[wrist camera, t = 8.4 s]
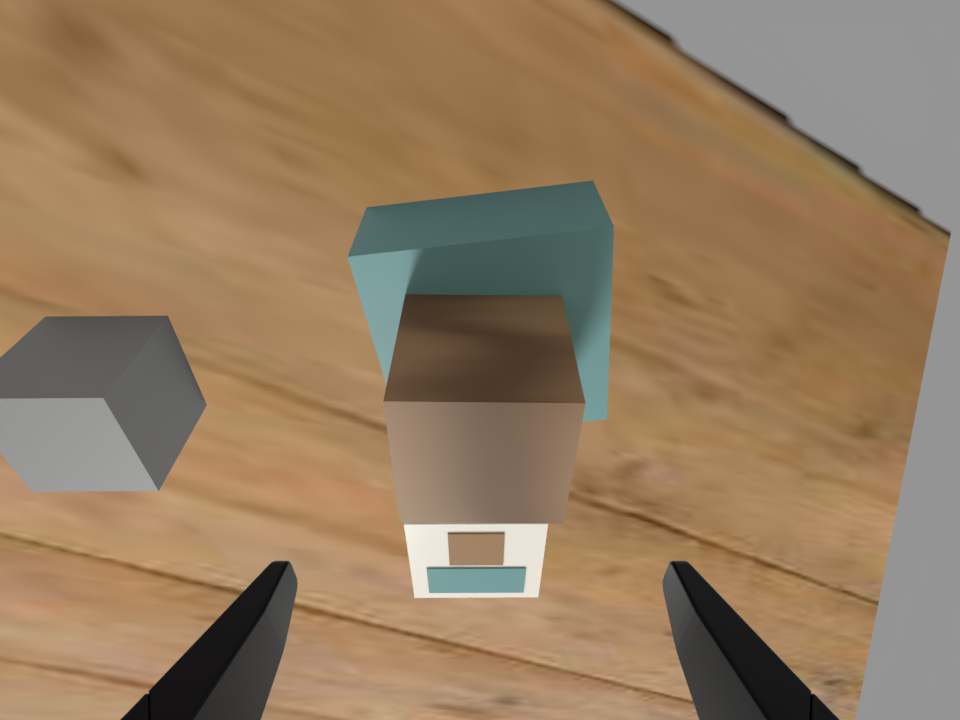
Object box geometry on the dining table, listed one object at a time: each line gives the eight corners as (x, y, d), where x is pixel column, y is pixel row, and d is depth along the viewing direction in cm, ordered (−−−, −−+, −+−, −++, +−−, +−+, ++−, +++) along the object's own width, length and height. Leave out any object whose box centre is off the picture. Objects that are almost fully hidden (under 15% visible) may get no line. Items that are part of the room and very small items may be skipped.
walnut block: (414, 408, 20) (399, 522, 17) (405, 294, 17) (383, 401, 13) (547, 409, 20) (563, 523, 17) (562, 296, 17) (585, 403, 13)
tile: (415, 589, 36) (414, 599, 35) (404, 515, 31) (403, 526, 30) (537, 588, 36) (538, 598, 35) (546, 514, 31) (548, 525, 30)
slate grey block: (100, 404, 25) (32, 491, 22) (46, 315, 22) (-46, 398, 18) (207, 403, 25) (158, 491, 22) (168, 314, 22) (103, 398, 18)
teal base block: (411, 372, 25) (402, 437, 21) (367, 203, 20) (347, 257, 16) (590, 355, 24) (607, 419, 21) (591, 176, 19) (613, 226, 16)
